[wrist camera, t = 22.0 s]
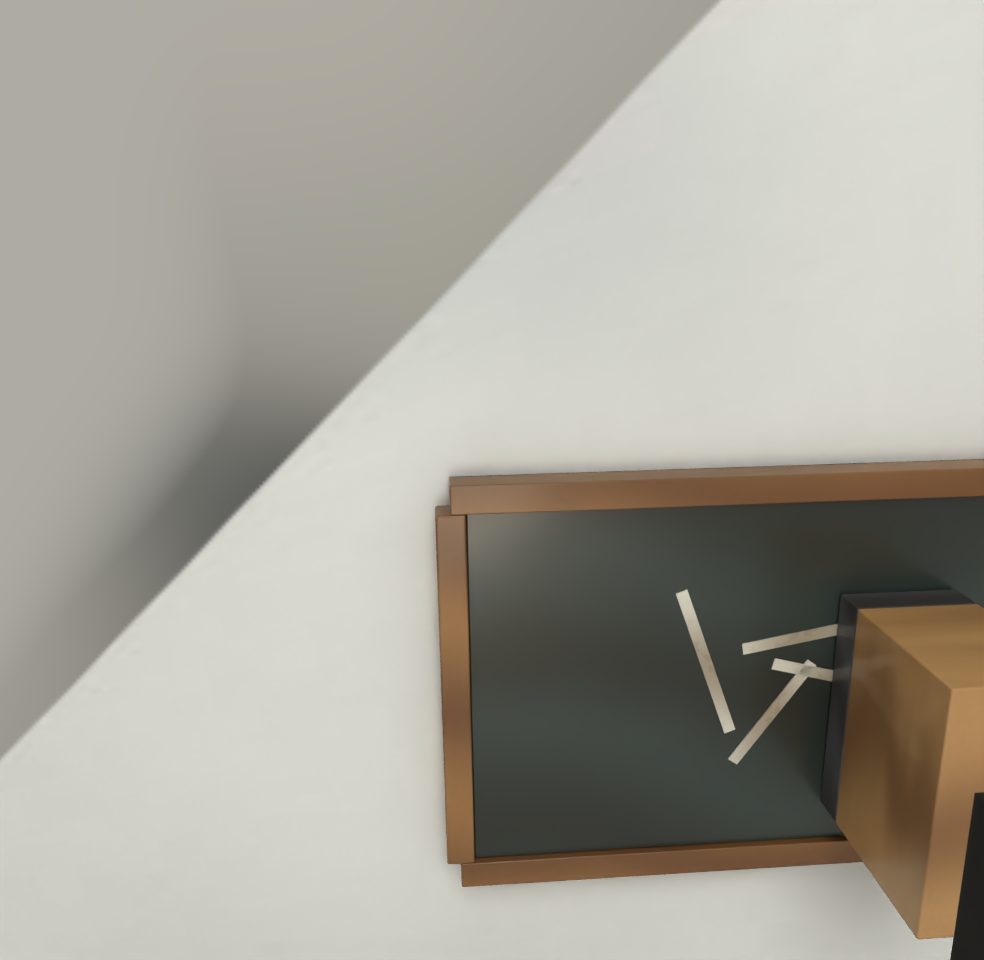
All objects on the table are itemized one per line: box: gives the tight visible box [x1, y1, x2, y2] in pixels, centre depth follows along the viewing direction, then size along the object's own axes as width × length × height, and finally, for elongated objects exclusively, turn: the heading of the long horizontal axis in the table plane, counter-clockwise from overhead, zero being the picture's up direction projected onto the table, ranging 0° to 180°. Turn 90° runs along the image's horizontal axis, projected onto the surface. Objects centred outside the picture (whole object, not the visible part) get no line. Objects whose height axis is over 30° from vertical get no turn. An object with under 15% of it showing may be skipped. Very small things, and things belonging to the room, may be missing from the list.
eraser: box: [821, 590, 984, 939], centre depth 33 cm, size 10×5×8 cm, turn 1°
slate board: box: [435, 459, 984, 887], centre depth 37 cm, size 18×28×2 cm, turn 91°
